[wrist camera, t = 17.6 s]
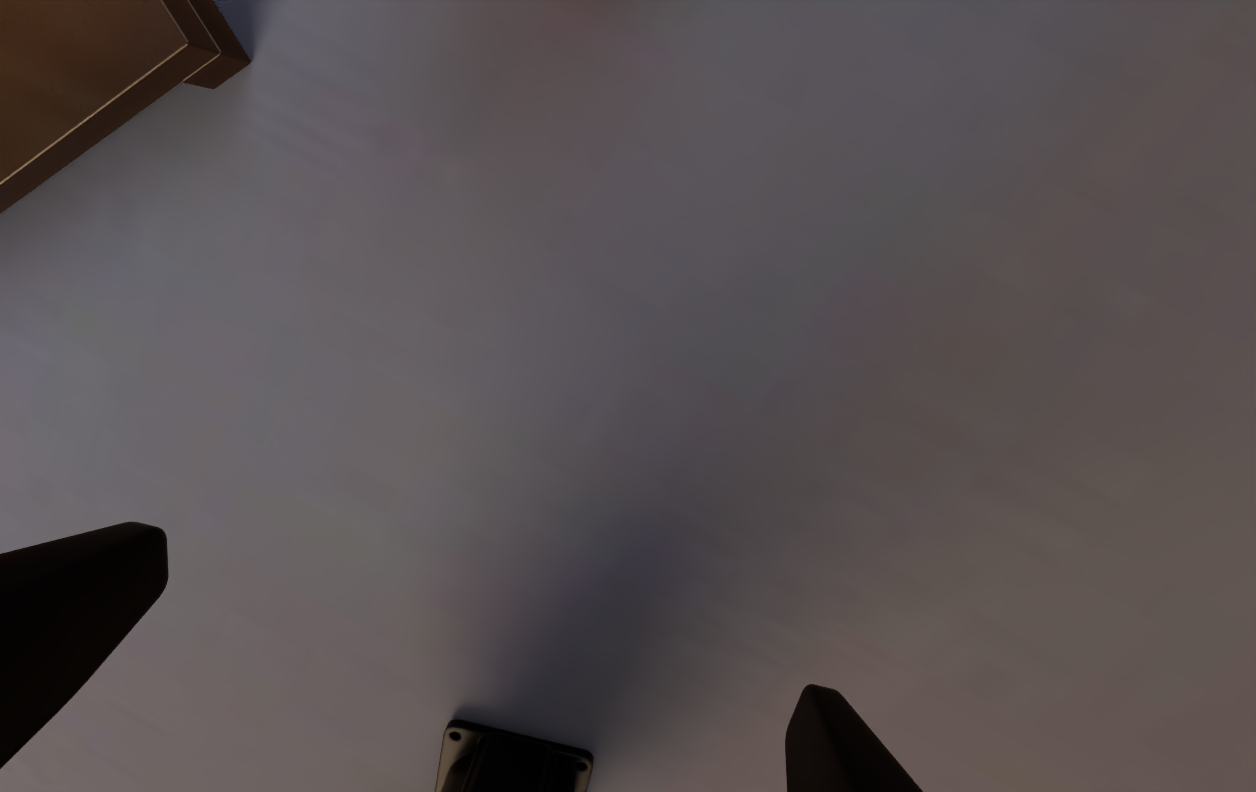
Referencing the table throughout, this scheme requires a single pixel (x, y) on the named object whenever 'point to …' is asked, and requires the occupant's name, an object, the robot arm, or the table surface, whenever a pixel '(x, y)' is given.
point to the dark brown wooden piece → (95, 74)
